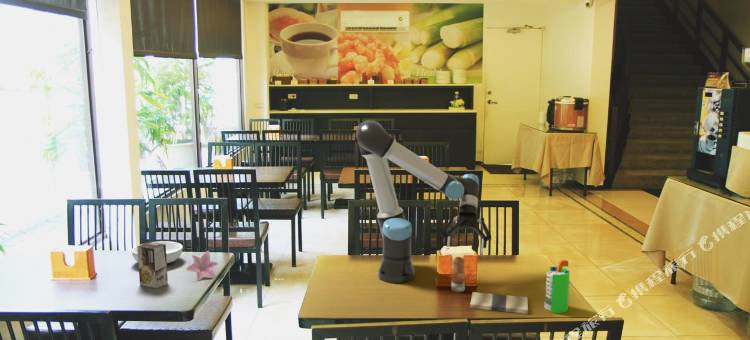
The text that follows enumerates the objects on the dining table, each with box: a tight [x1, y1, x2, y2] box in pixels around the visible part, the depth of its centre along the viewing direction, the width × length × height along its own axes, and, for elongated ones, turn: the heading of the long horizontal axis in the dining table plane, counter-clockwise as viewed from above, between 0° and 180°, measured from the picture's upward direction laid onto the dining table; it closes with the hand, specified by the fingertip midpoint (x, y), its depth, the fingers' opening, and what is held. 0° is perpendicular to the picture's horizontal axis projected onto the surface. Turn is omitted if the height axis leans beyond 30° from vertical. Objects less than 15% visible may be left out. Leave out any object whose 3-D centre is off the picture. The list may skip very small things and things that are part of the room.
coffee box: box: [136, 241, 169, 289], centre depth 225 cm, size 9×6×16 cm
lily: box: [185, 250, 219, 281], centre depth 235 cm, size 12×12×10 cm
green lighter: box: [544, 259, 570, 314], centre depth 205 cm, size 9×8×18 cm
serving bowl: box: [131, 240, 184, 264], centre depth 252 cm, size 21×21×7 cm
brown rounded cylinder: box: [450, 256, 466, 293], centre depth 223 cm, size 5×5×13 cm
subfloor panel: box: [469, 291, 529, 315], centre depth 210 cm, size 20×12×2 cm, turn 77°
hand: (464, 253), depth 230 cm, fingers open, 13 cm apart
